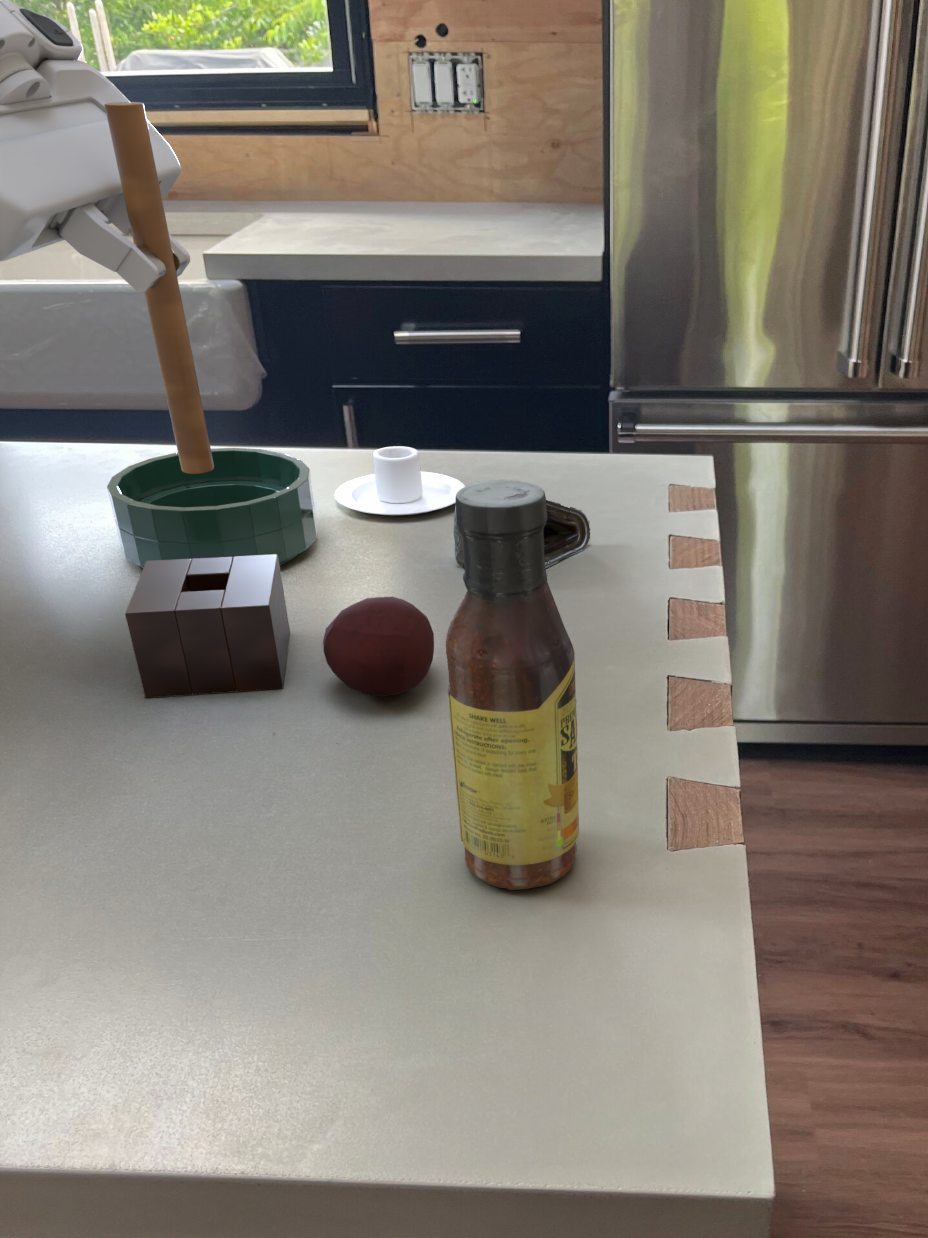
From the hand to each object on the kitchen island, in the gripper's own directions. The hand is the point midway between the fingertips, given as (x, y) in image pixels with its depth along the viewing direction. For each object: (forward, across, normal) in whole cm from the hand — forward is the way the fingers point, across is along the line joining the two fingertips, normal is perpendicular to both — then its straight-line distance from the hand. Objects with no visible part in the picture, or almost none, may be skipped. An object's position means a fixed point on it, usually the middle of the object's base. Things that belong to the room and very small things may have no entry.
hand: (168, 276), depth 69 cm
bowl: (+11, +19, +24) cm, 32 cm away
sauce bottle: (+34, -22, 0) cm, 40 cm away
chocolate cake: (+29, +21, +7) cm, 36 cm away
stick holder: (+17, -2, +18) cm, 24 cm away
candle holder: (+20, +32, +16) cm, 41 cm away
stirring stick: (+8, 0, +8) cm, 11 cm away
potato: (+25, -4, +9) cm, 27 cm away
